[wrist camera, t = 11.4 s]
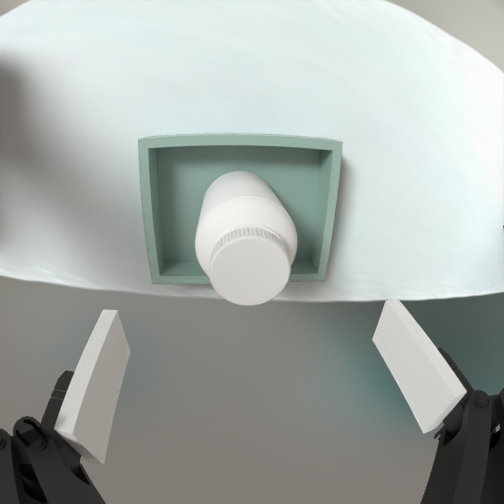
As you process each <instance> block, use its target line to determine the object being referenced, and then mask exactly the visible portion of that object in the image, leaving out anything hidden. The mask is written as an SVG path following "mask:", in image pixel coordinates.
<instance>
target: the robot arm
mask: <svg viewBox="0 0 504 504" xmlns="http://www.w3.org/2000/svg"><path fill="white" fill-rule="evenodd" d="M372 340H373V342H374V343H375V345H376V347H377V349H378V350H379V352H380V354H381V356H382V357H383V359H384V361H385V362H386V364H387V366H388V368H389V370H390V371H391V373H392V375H393V377H394V379H395V380H396V382H397V384H398V386H399V388H400V389H401V391H402V393H403V395H404V397H405V399H406V401H407V402H408V404H409V406H410V408H411V410H412V412H413V414H414V416H415V418H416V420H417V422H418V424H419V426H420V428H421V429H422V432H423V433H426V432H428V431H431V430H433V429H435V428H436V427H437V426H438V425H439V424H440V423H441V422H442V421H443V423H444V426H443V427H442V428H441V429H440V430H439V431H438V432H437V433H436V434H435V436H434V439H435V438H437V437H438V436H439V434H441V435H440V437H439V438H438V440H439V444H438V448H437V452H436V456H435V460H434V464H433V467H432V471H431V474H430V477H429V481H428V484H427V487H426V490H425V493H424V495H423V498H422V501H421V504H504V388H503V389H502V390H501V392H500V393H499V394H498V395H491V396H488V395H487V394H486V393H485V392H483V391H480V390H476V391H475V390H474V389H473V388H472V387H471V385H470V384H469V382H468V381H467V379H466V378H465V377H464V375H463V374H462V372H461V371H460V369H458V367H457V365H456V364H455V363H454V362H453V360H452V358H451V357H450V356H449V354H448V353H446V352H445V351H444V350H443V349H441V348H438V349H437V348H436V347H435V346H434V344H433V343H432V342H431V340H430V339H429V338H428V336H427V335H426V334H425V332H424V331H423V330H422V329H421V327H420V326H419V325H418V323H417V322H416V321H415V320H414V319H413V317H412V316H411V315H410V313H409V312H408V311H407V310H406V308H405V307H404V306H403V305H402V303H401V302H400V301H399V300H398V299H392V300H386V302H385V305H384V308H383V311H382V314H381V317H380V320H379V323H378V325H377V328H376V331H375V334H374V336H373V339H372ZM130 352H131V351H130V348H129V345H128V343H127V339H126V336H125V333H124V330H123V327H122V324H121V320H120V317H119V314H118V311H117V310H103V311H102V313H101V315H100V317H99V319H98V322H97V323H96V325H95V328H94V330H93V332H92V334H91V336H90V338H89V340H88V343H87V345H86V347H85V349H84V352H83V354H82V356H81V358H80V361H79V363H78V365H77V368H76V370H75V372H71V371H65V372H64V373H63V374H62V375H61V376H60V377H59V379H58V381H57V383H56V385H55V388H54V391H53V392H52V395H51V398H50V400H49V402H48V405H47V408H46V410H45V413H44V416H43V418H42V421H41V424H40V423H39V422H38V421H37V420H36V419H34V418H33V417H29V416H26V417H22V418H21V419H19V420H18V421H17V422H16V423H15V425H14V428H13V436H10V435H9V434H8V433H7V432H6V431H4V430H3V429H0V504H106V503H105V502H104V500H103V499H102V497H101V496H100V494H99V493H98V491H97V489H96V488H95V486H94V485H93V483H92V481H91V480H90V478H89V477H88V475H87V473H86V471H85V469H84V468H83V466H82V464H81V463H80V458H81V456H82V457H83V458H84V459H85V460H86V461H88V462H92V463H96V464H101V465H104V461H105V455H106V450H107V445H108V440H109V435H110V430H111V425H112V421H113V417H114V412H115V408H116V404H117V400H118V396H119V392H120V388H121V384H122V380H123V377H124V373H125V369H126V366H127V362H128V359H129V355H130ZM499 424H500V430H499V431H498V432H496V429H495V428H496V427H497V426H498V425H499Z"/></svg>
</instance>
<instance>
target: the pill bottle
mask: <svg viewBox="0 0 504 504" xmlns="http://www.w3.org/2000/svg"><path fill="white" fill-rule="evenodd" d="M195 251H196V256H197V259H198V261H199V263H200V265H201V267H202V269H203V270H204V272H205V273H206V274H207V275H208V277H209V278H210V281H211V282H212V286H213V288H214V289H215V290H216V292H217V293H218V294H219V295H220V296H221V297H223V298H224V299H226V300H228V301H230V302H232V303H235V304H238V305H246V306H250V305H251V306H252V305H258V304H262V303H265V302H267V301H269V300H271V299H273V298H274V297H276V296H277V295H278V294H279V293H280V292H281V291H282V290H283V289H284V288H285V286H286V284H287V282H288V280H289V278H290V274H291V273H290V272H291V265H292V263H293V261H294V258H295V255H296V251H297V232H296V228H295V226H294V223H293V221H292V219H291V217H290V216H289V214H288V213H287V211H286V210H285V208H284V207H283V205H282V204H281V202H280V201H279V199H278V198H277V196H276V195H275V193H274V192H273V191H272V189H271V188H270V186H269V185H268V184H267V183H266V182H265V181H264V180H263V179H262V178H260V177H259V176H257V175H255V174H253V173H250V172H245V171H234V172H229V173H226V174H224V175H222V176H220V177H219V178H217V179H216V180H215V181H214V182H213V183H212V184H211V185H210V187H209V188H208V190H207V191H206V194H205V196H204V200H203V204H202V208H201V213H200V217H199V222H198V226H197V231H196V237H195Z"/></svg>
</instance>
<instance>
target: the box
mask: <svg viewBox="0 0 504 504" xmlns="http://www.w3.org/2000/svg"><path fill="white" fill-rule="evenodd" d="M342 144H343V142H341V141H336V140H332V139H326V138H316V137H305V136H292V135H275V134H246V133H210V134H182V135H165V136H152V137H146V138H141V139H138V149H139V170H140V185H141V197H142V208H143V218H144V227H145V235H146V243H147V251H148V258H149V264H150V271H151V277H152V283H153V284H212V282H211V281H210V278H209V277H208V275H207V274H206V273H205V272H204V270H203V269H202V267H201V265H200V263H199V261H198V259H197V256H196V251H195V237H196V231H197V226H198V222H199V217H200V213H201V208H202V204H203V200H204V196H205V194H206V191H207V190H208V188H209V187H210V185H211V184H212V183H213V182H214V181H215V180H216V179H217V178H219V177H220V176H222V175H224V174H226V173H229V172H234V171H245V172H250V173H253V174H255V175H257V176H259V177H260V178H262V179H263V180H264V181H265V182H266V183H267V184H268V185H269V186H270V188H271V189H272V191H273V192H274V193H275V195H276V196H277V198H278V199H279V201H280V202H281V204H282V205H283V207H284V208H285V210H286V211H287V213H288V214H289V216H290V217H291V219H292V221H293V223H294V226H295V228H296V232H297V251H296V255H295V258H294V261H293V263H292V265H291V272H290V273H291V274H290V278H289V280H288V282H301V281H325V276H326V270H327V264H328V258H329V252H330V246H331V239H332V232H333V225H334V218H335V211H336V203H337V194H338V186H339V176H340V166H341V156H342Z"/></svg>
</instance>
